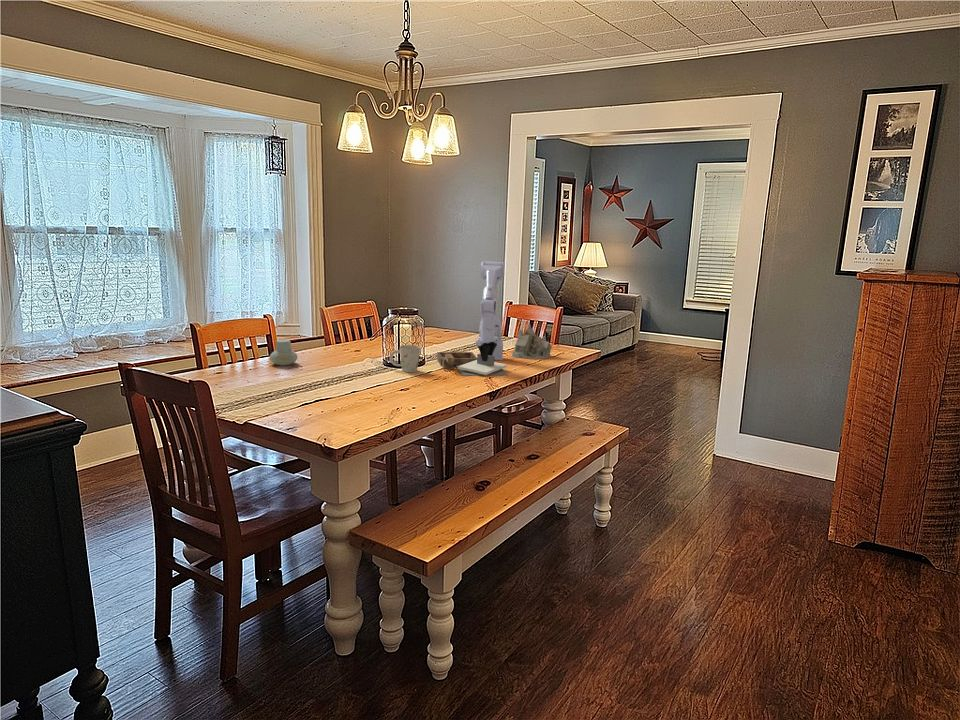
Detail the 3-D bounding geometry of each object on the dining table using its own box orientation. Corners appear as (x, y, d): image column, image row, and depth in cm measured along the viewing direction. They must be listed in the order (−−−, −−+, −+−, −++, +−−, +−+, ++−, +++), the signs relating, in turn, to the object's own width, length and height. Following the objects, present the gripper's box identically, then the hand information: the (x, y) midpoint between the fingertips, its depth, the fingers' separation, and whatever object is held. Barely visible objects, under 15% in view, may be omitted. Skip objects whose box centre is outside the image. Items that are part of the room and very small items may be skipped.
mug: (418, 373, 257) (418, 349, 255) (387, 372, 257) (387, 348, 255) (420, 368, 265) (421, 345, 263) (390, 367, 265) (391, 344, 263)
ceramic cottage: (506, 355, 298) (510, 323, 295) (529, 352, 309) (533, 322, 306) (531, 363, 287) (536, 330, 284) (554, 360, 299) (559, 328, 295)
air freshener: (297, 361, 270) (296, 338, 268) (298, 366, 262) (297, 342, 260) (270, 362, 266) (269, 339, 264) (270, 367, 259) (269, 342, 257)
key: (450, 358, 268) (451, 353, 267) (453, 362, 260) (453, 358, 260) (445, 358, 267) (445, 353, 267) (447, 362, 259) (448, 358, 259)
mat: (499, 365, 276) (499, 365, 276) (508, 375, 260) (508, 374, 260) (456, 366, 272) (456, 365, 272) (462, 375, 256) (462, 374, 256)
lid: (479, 362, 275) (480, 349, 274) (507, 368, 268) (507, 355, 266) (457, 369, 262) (458, 356, 261) (486, 376, 255) (486, 362, 253)
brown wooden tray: (472, 358, 288) (472, 349, 287) (480, 368, 269) (480, 359, 268) (436, 358, 285) (437, 350, 284) (442, 368, 266) (442, 359, 265)
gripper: (489, 325, 271) (488, 356, 274) (469, 329, 259) (468, 361, 262) (503, 327, 267) (501, 358, 270) (484, 331, 255) (482, 364, 258)
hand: (486, 360), depth 265 cm, fingers closed on lid, 2 cm apart
